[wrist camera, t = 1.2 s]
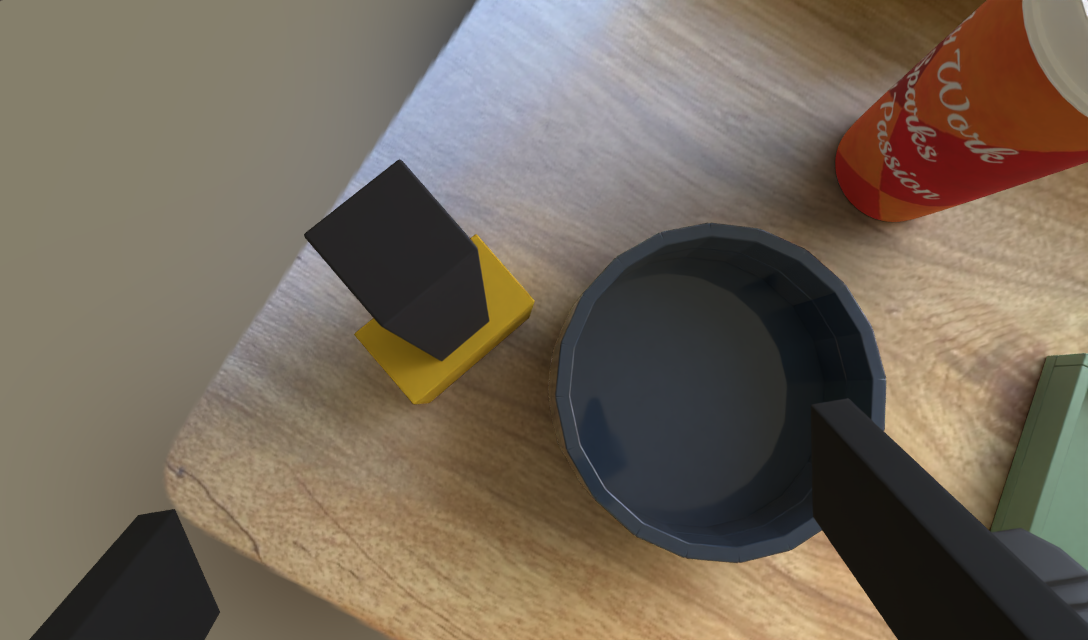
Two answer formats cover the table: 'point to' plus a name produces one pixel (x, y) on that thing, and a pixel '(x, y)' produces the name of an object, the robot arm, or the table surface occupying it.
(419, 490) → the table surface
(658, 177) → the table surface
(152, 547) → the robot arm
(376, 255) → the sponge wand
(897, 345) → the table surface
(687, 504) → the bowl
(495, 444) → the table surface
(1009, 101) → the paper cup
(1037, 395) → the green rectangular tray
